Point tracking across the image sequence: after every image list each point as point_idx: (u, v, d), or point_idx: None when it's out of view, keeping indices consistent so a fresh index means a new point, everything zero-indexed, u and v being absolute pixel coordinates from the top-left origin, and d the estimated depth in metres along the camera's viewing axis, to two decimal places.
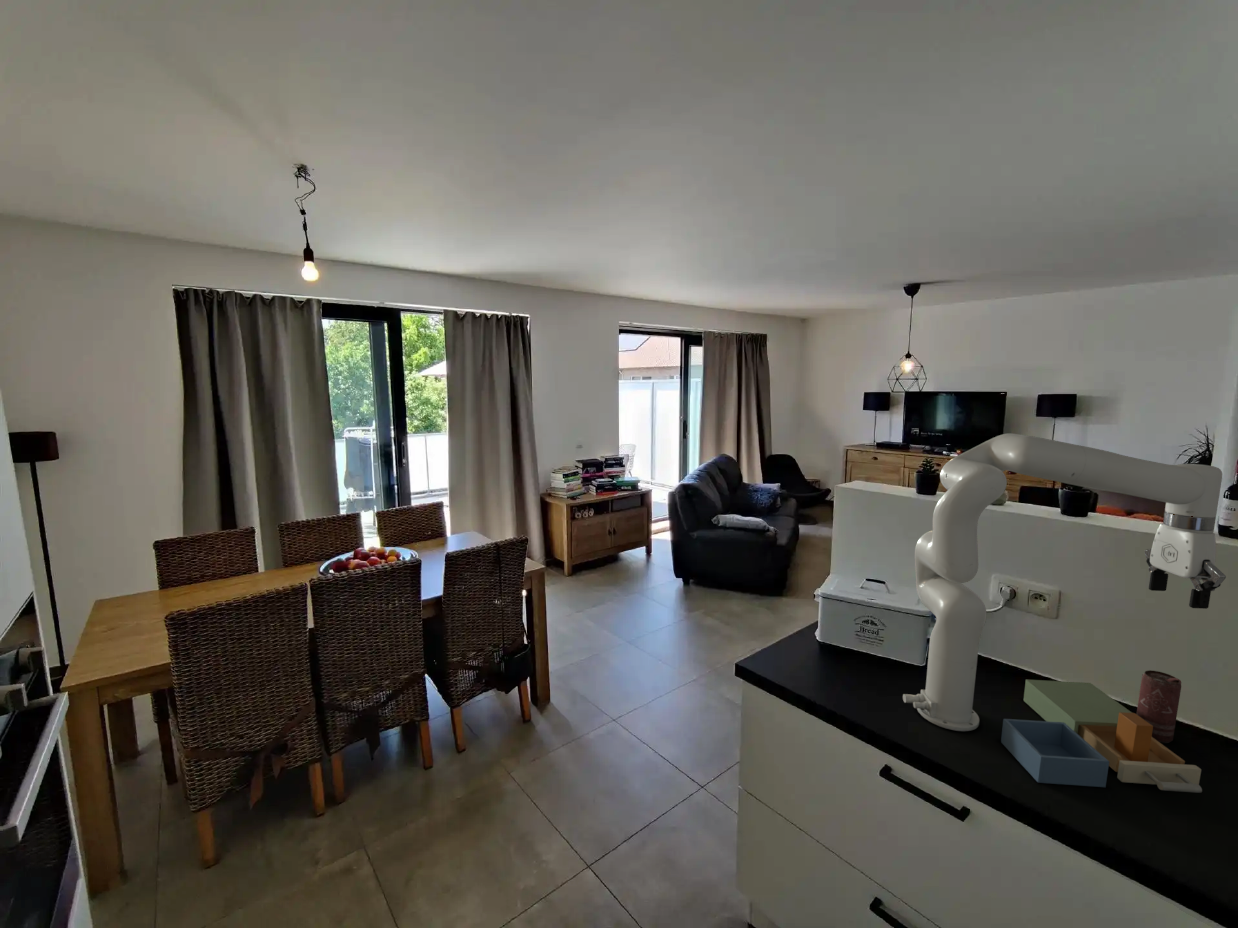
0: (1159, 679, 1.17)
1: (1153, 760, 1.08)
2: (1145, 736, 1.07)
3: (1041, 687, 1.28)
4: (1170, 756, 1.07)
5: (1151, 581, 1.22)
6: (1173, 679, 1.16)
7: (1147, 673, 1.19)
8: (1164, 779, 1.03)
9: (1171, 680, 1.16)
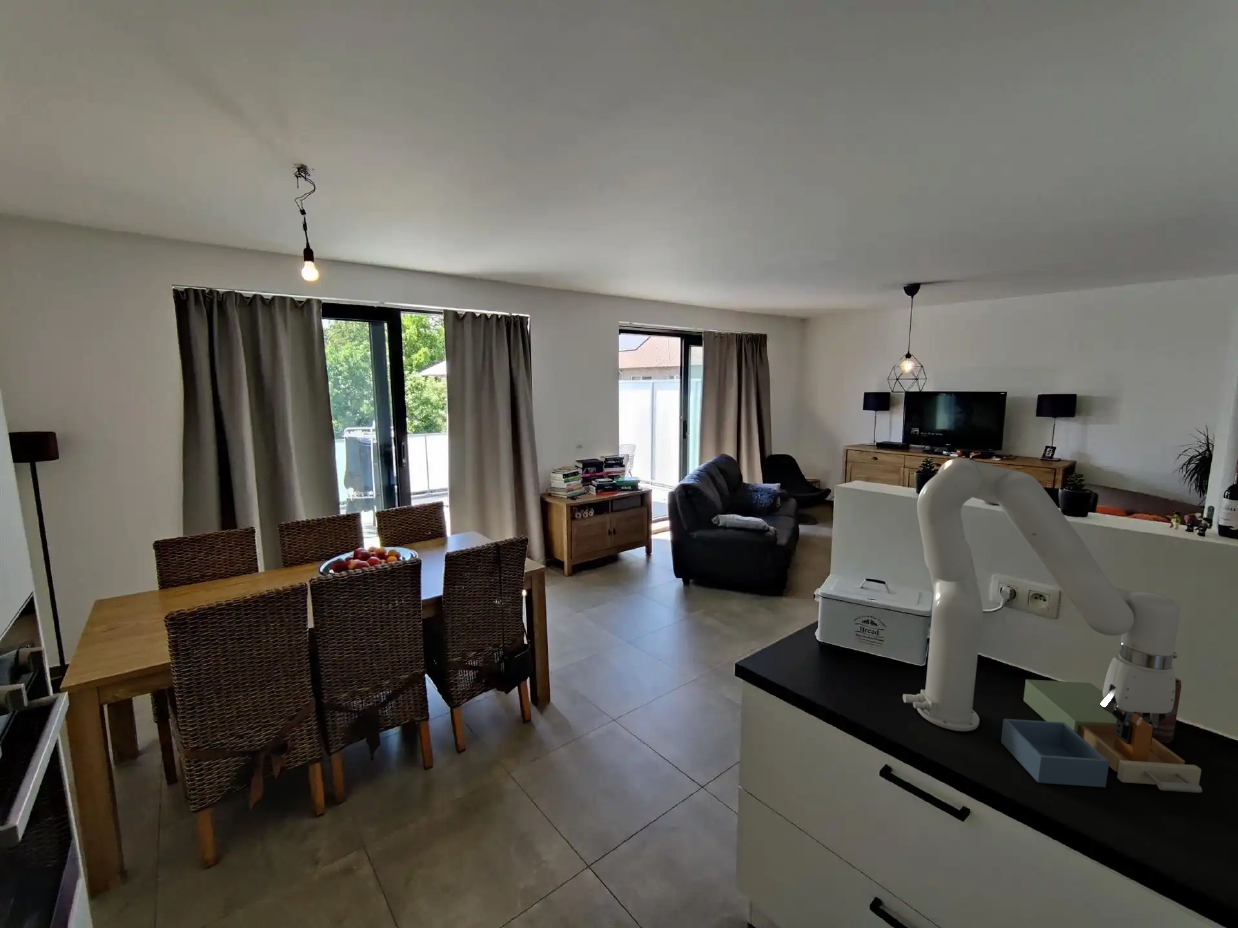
0: None
1: (1153, 760, 1.08)
2: (1145, 736, 1.07)
3: (1041, 687, 1.28)
4: (1170, 756, 1.07)
5: None
6: None
7: None
8: (1164, 779, 1.03)
9: None
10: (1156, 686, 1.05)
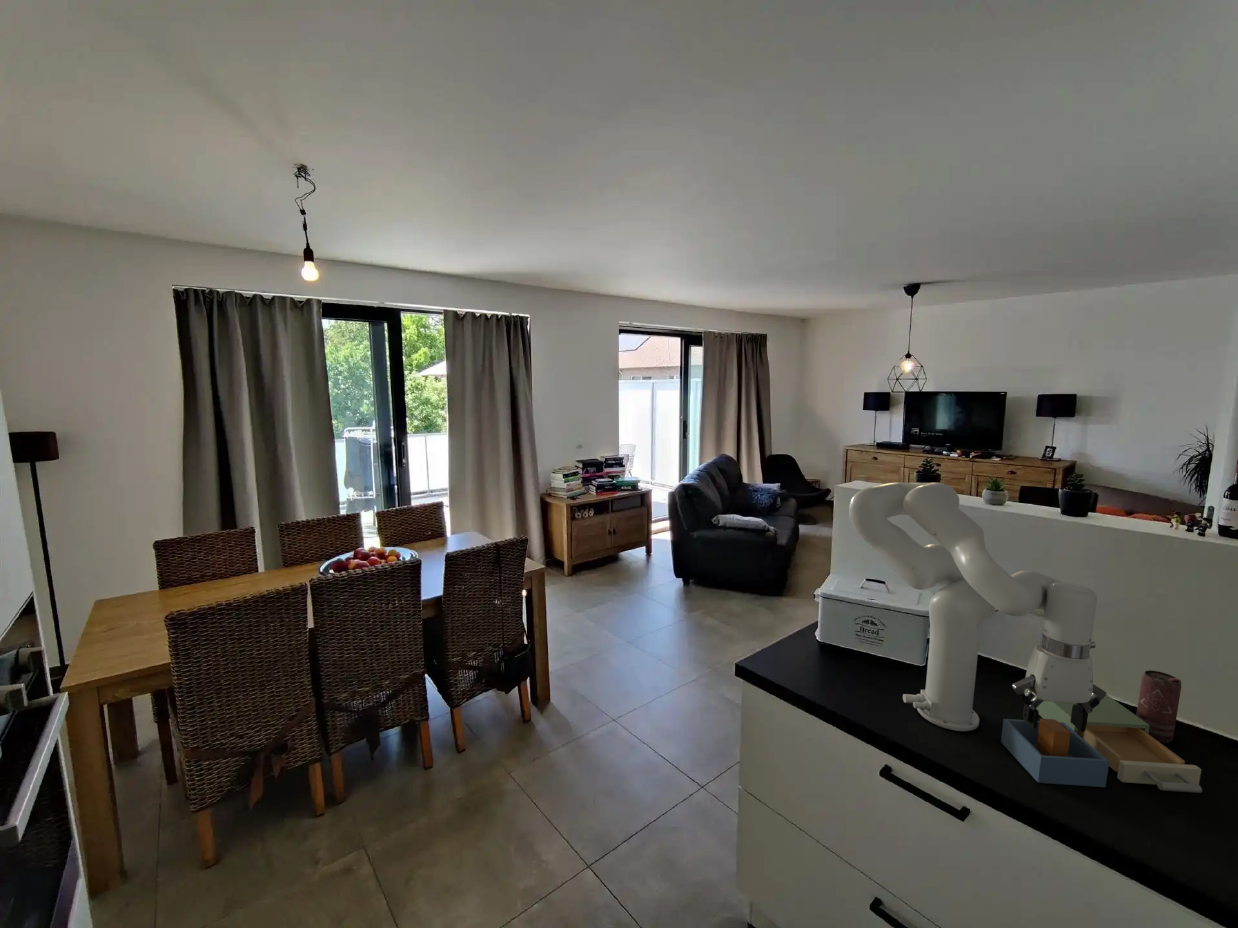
0: (1159, 679, 1.17)
1: (1153, 760, 1.08)
2: (1063, 742, 1.07)
3: None
4: (1170, 756, 1.07)
5: None
6: (1173, 679, 1.16)
7: (1147, 673, 1.19)
8: (1164, 779, 1.03)
9: (1171, 680, 1.16)
10: (1074, 676, 1.05)
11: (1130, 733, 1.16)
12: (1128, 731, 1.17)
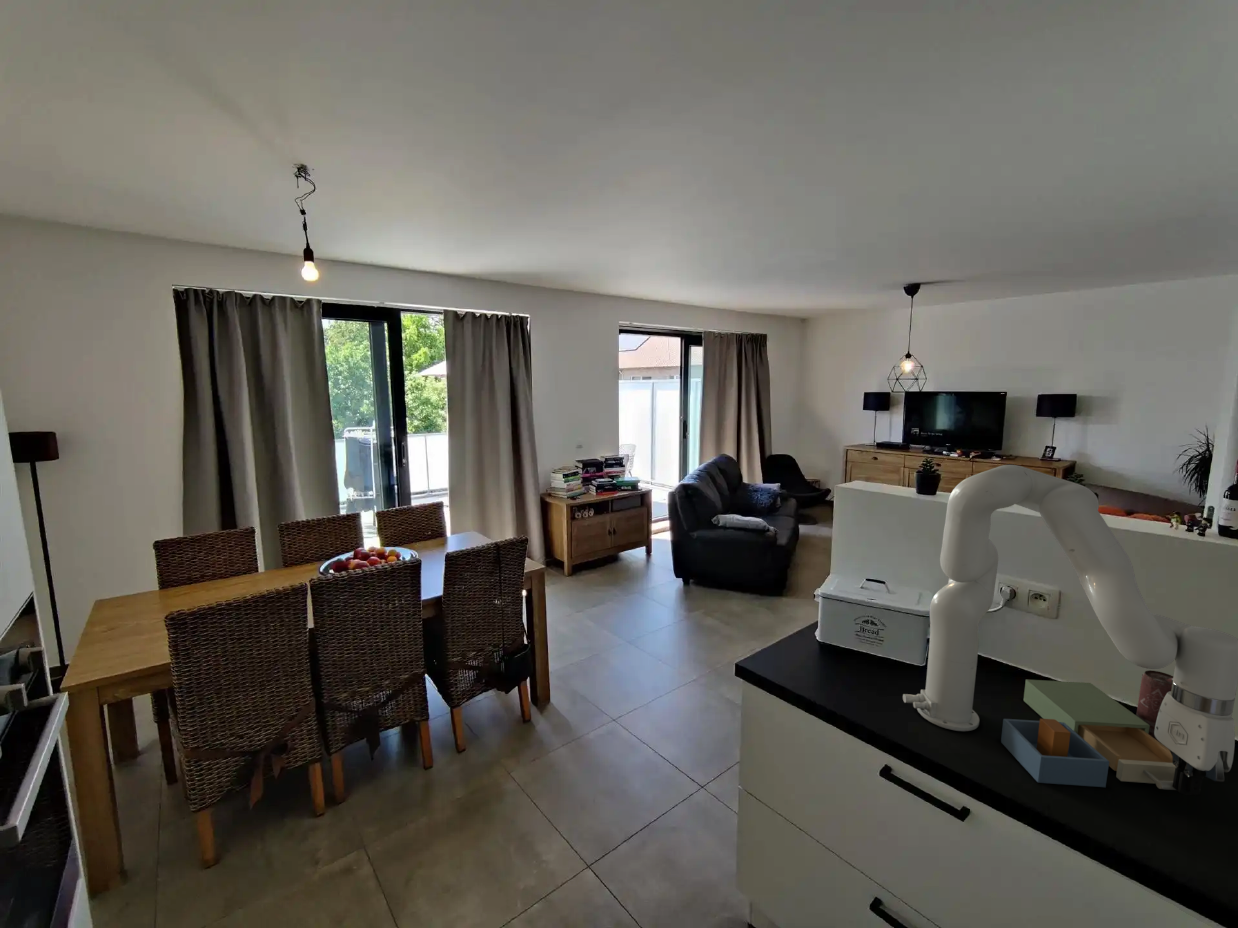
0: (1159, 679, 1.17)
1: (1152, 759, 1.09)
2: (1063, 742, 1.07)
3: (1041, 687, 1.28)
4: (1168, 755, 1.07)
5: (1176, 778, 0.98)
6: None
7: (1147, 673, 1.19)
8: (1163, 778, 1.03)
9: (1171, 680, 1.16)
10: None
11: (1129, 732, 1.16)
12: (1127, 730, 1.17)
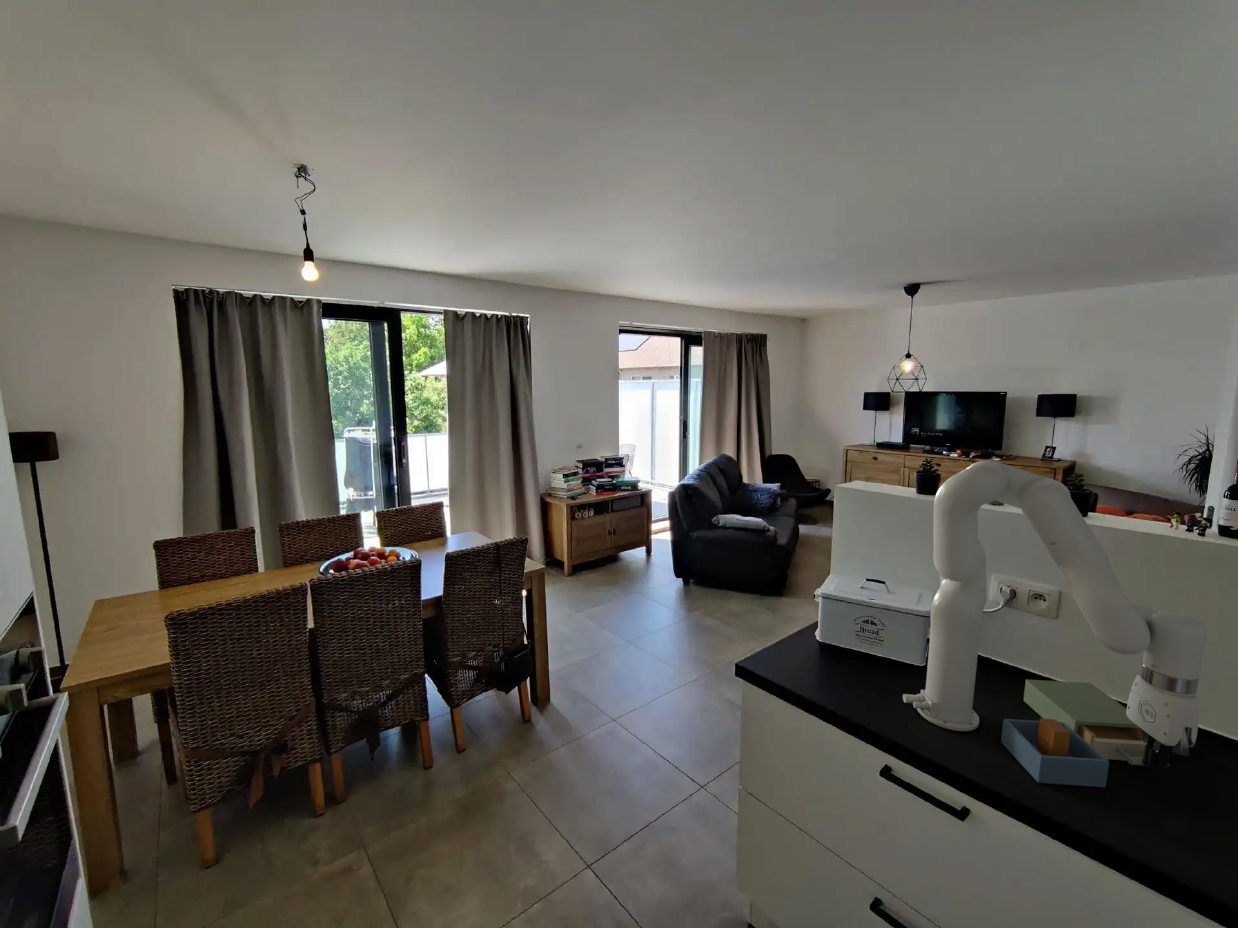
0: None
1: (1125, 738, 1.15)
2: (1063, 742, 1.07)
3: (1041, 687, 1.28)
4: (1141, 735, 1.14)
5: (1145, 754, 1.05)
6: None
7: None
8: (1134, 755, 1.10)
9: None
10: None
11: None
12: None
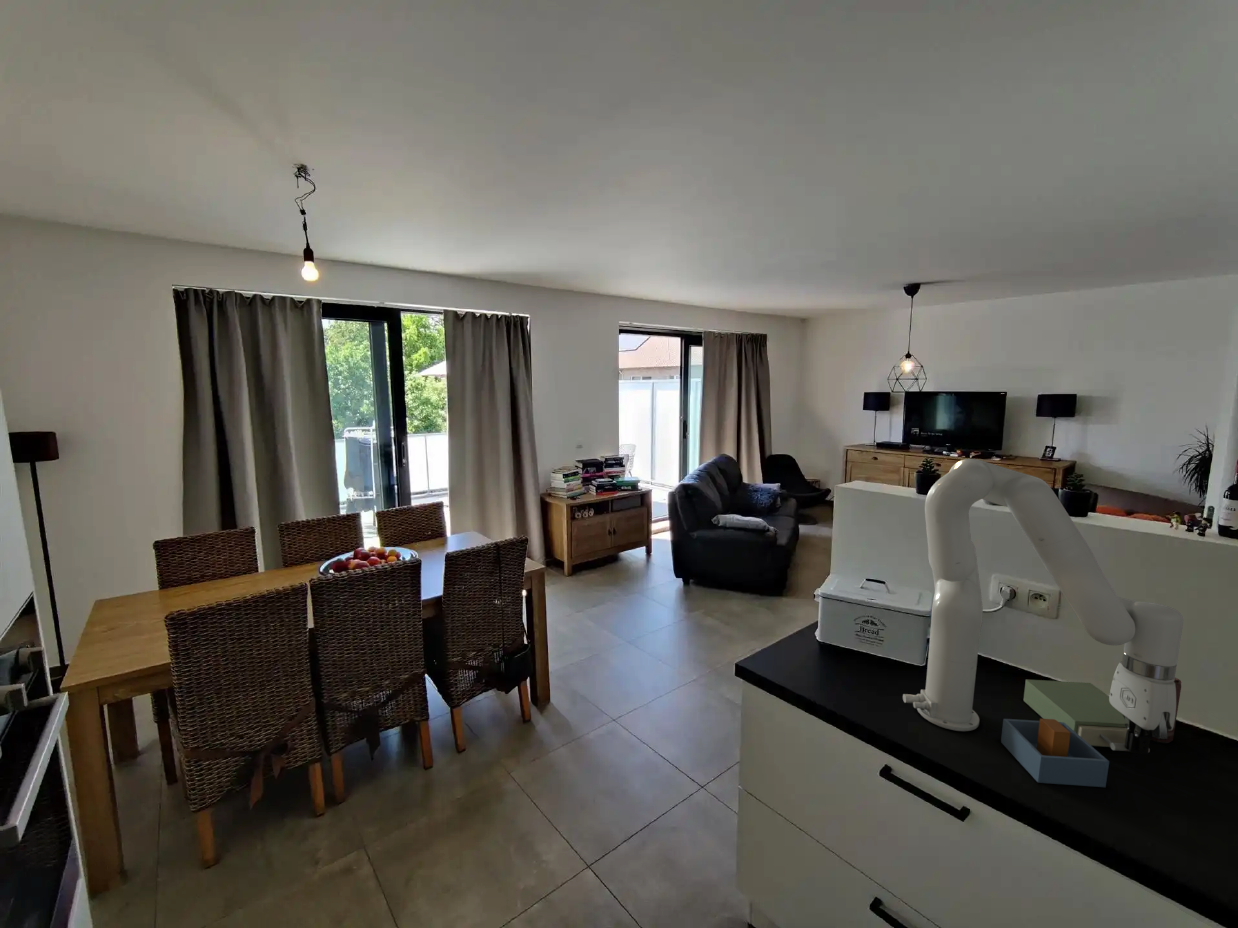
0: None
1: (1110, 726, 1.19)
2: (1063, 742, 1.07)
3: (1041, 687, 1.28)
4: None
5: (1127, 739, 1.09)
6: None
7: None
8: (1117, 742, 1.14)
9: None
10: None
11: None
12: None
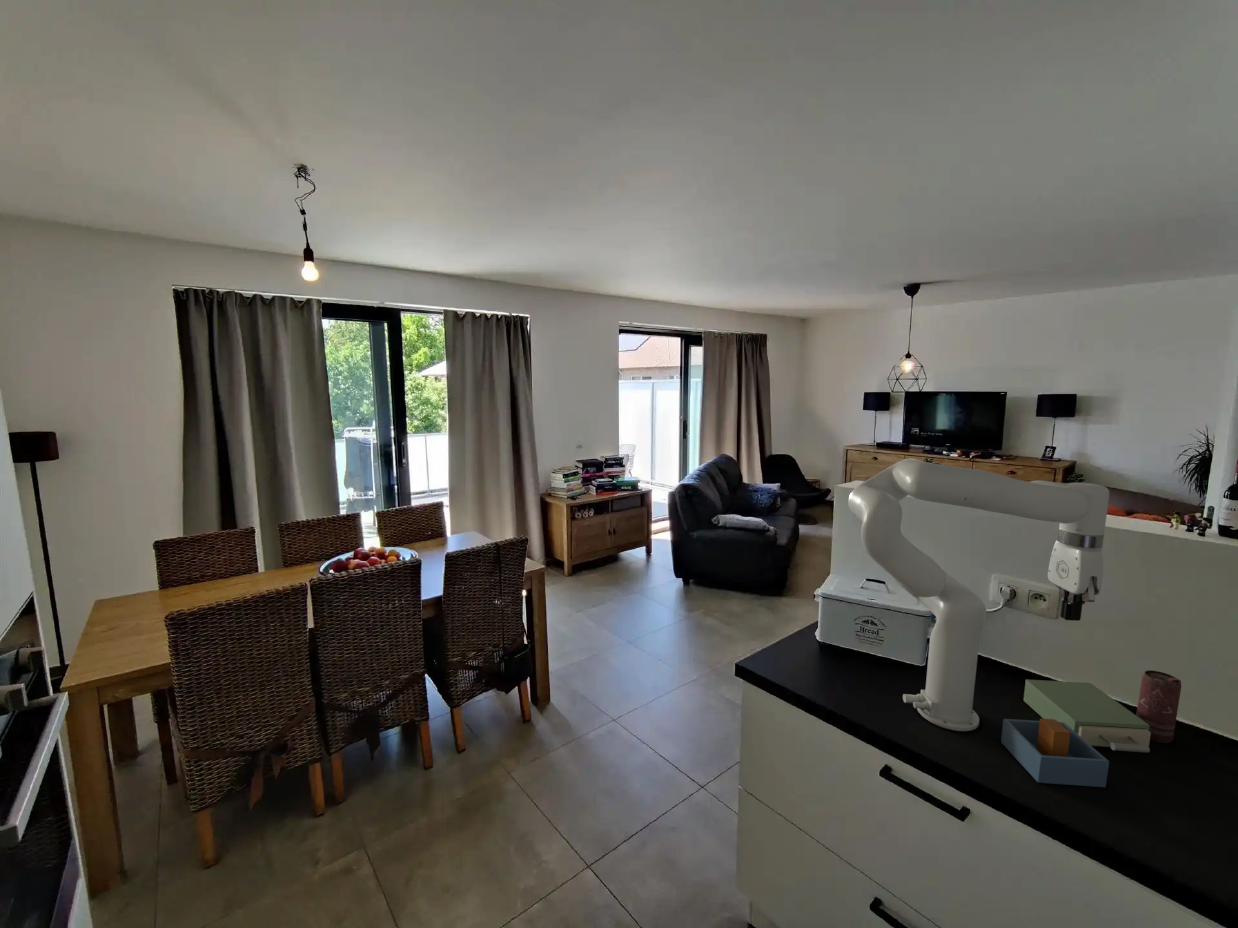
0: (1159, 679, 1.17)
1: (1110, 726, 1.19)
2: (1063, 742, 1.07)
3: (1041, 687, 1.28)
4: None
5: (1062, 608, 1.21)
6: (1173, 679, 1.16)
7: (1147, 673, 1.19)
8: (1117, 742, 1.14)
9: (1171, 680, 1.16)
10: None
11: None
12: None
